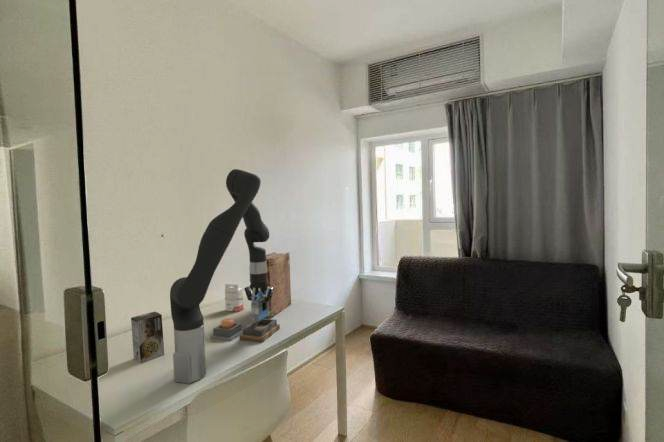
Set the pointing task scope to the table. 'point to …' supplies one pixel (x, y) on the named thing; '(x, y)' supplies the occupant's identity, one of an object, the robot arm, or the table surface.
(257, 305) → the label tape box
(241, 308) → the ink cartridge box
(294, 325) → the table surface
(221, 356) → the table surface
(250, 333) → the tray
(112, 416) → the table surface
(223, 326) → the button
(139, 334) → the coffee box
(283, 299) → the book
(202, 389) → the table surface
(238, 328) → the button panel
